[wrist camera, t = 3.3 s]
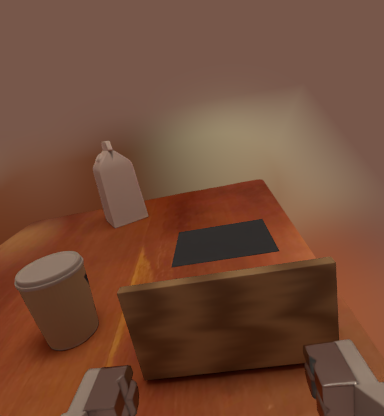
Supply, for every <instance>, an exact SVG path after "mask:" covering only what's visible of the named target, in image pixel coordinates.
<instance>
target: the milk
mask: <svg viewBox="0 0 384 416" xmlns="http://www.w3.org/2000/svg"><path fill="white" fill-rule="evenodd" d="M101 145H102V150H103V151H102V152H101V154H99V155H98V156H97V158H96V160H95V161H96V162H95V164H94V166H93V172H94V176H95V179H96V183H97V187H98V191H99V195H100V198H101V202H102V206H103V210H104V214H105V217H106V220H107V221H108V222H109V223H110V224H111V225H112V226H113V227H114V228H117V227H120V226H123V225H126V224H129V223H131V222H134V221H137V220H140V219H143V218H146V217H149V216H148V213H147V210H146V206H145V203H144V200H143V197H142V194H141V190H140V187H139V184H138V180H137V177H136V174H135V171H134V168H133V165H132V163H131V161H130V160H129V159H127V158H125V157H124V156H122V155H120V154H119V153H117V152H115V151H114V150H113V149H112V146H111V144H110V141H104V142H101Z"/></svg>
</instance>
